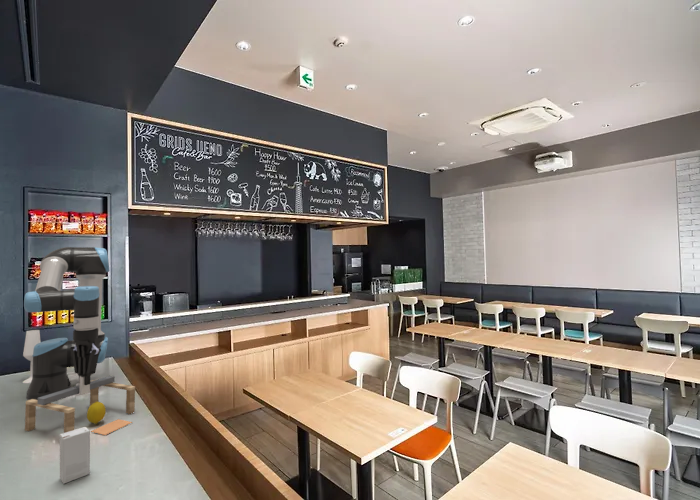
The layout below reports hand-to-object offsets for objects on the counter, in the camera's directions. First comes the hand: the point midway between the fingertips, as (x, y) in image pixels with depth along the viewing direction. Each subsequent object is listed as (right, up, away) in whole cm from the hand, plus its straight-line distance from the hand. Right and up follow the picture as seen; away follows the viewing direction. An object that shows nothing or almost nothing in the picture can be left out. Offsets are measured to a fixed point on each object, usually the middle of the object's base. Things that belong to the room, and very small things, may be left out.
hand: (84, 393), depth 133 cm
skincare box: (+22, -9, -34) cm, 42 cm away
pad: (+14, -10, -5) cm, 18 cm away
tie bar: (-3, 0, +1) cm, 3 cm away
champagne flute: (-57, -11, +43) cm, 72 cm away
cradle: (0, -10, 0) cm, 10 cm away
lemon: (+6, -10, -3) cm, 12 cm away
